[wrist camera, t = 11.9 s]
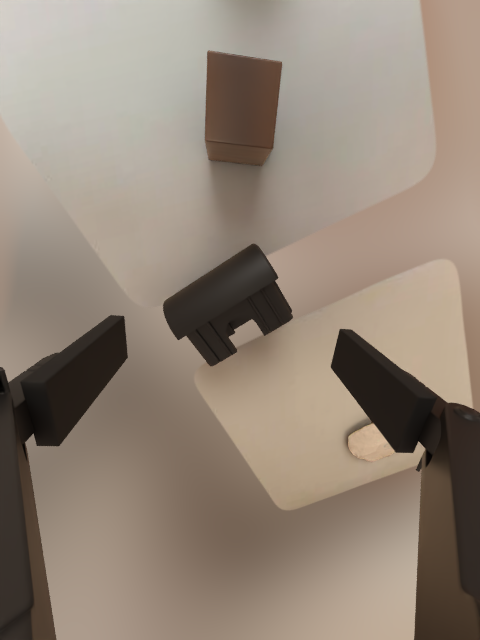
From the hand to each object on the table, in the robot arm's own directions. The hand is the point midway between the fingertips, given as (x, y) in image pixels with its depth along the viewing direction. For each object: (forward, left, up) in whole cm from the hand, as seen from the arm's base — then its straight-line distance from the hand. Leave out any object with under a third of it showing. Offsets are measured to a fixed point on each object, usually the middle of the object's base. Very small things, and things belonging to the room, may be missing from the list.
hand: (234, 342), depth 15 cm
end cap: (0, 0, -13) cm, 13 cm away
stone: (-25, +18, -13) cm, 33 cm away
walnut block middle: (0, -15, -12) cm, 19 cm away
